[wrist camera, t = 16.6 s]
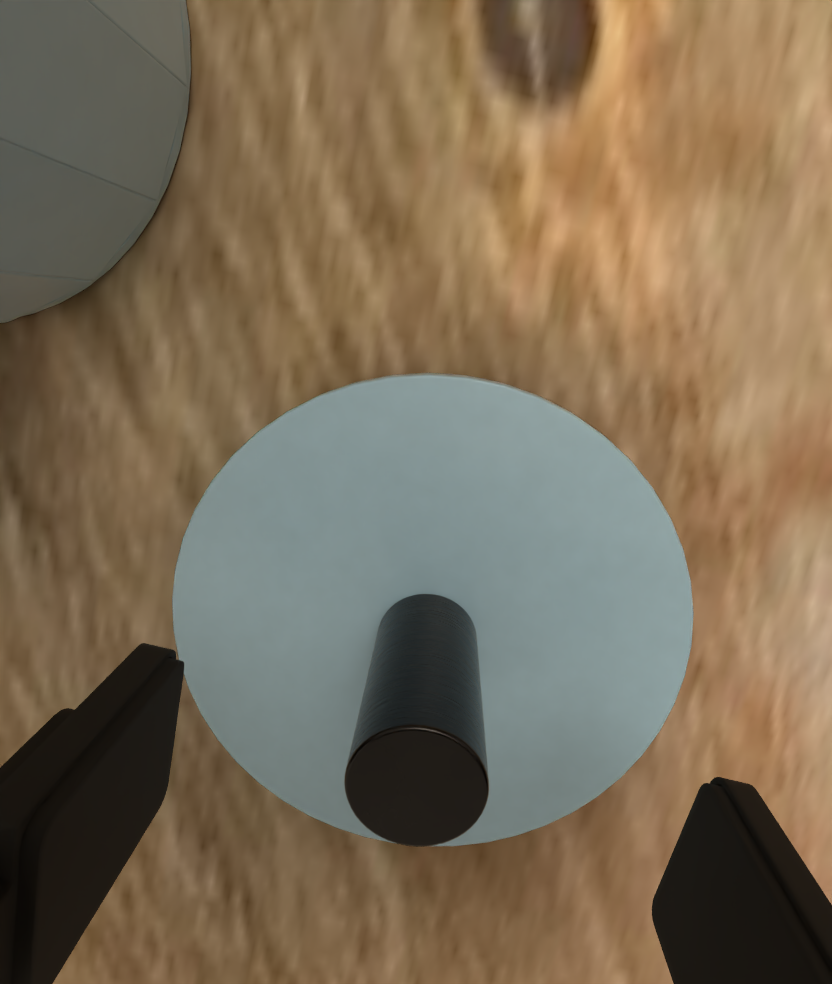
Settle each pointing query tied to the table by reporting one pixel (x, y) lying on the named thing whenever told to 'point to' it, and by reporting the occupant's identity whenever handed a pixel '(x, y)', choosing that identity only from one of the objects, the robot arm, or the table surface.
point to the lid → (432, 610)
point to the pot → (84, 137)
